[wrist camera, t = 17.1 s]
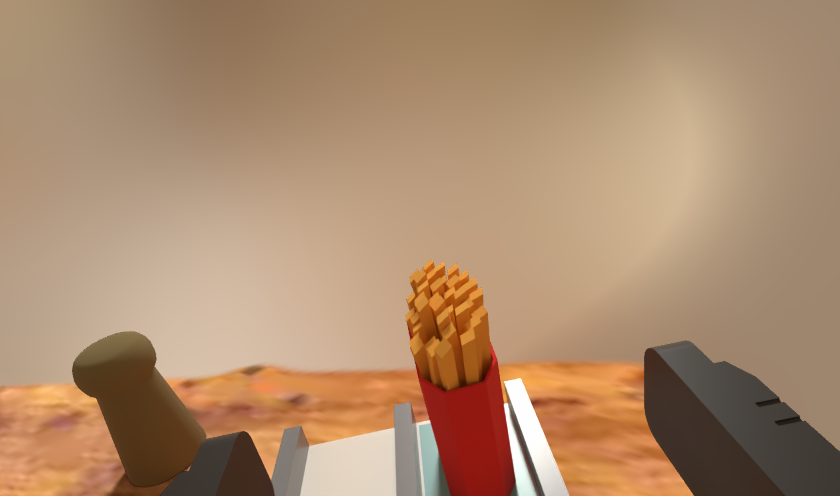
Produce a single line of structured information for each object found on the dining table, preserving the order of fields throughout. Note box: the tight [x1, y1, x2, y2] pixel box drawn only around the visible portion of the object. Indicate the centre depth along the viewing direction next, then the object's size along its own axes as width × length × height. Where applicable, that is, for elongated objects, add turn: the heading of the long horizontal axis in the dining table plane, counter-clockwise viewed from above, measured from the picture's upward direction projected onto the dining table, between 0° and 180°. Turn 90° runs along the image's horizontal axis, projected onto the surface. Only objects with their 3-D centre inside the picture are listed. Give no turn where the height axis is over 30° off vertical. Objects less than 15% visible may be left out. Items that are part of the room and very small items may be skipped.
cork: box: [72, 332, 206, 487], centre depth 36 cm, size 6×6×11 cm
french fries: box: [406, 260, 516, 496], centre depth 27 cm, size 9×4×13 cm, turn 8°
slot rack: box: [271, 378, 569, 496], centre depth 30 cm, size 17×10×3 cm, turn 94°
